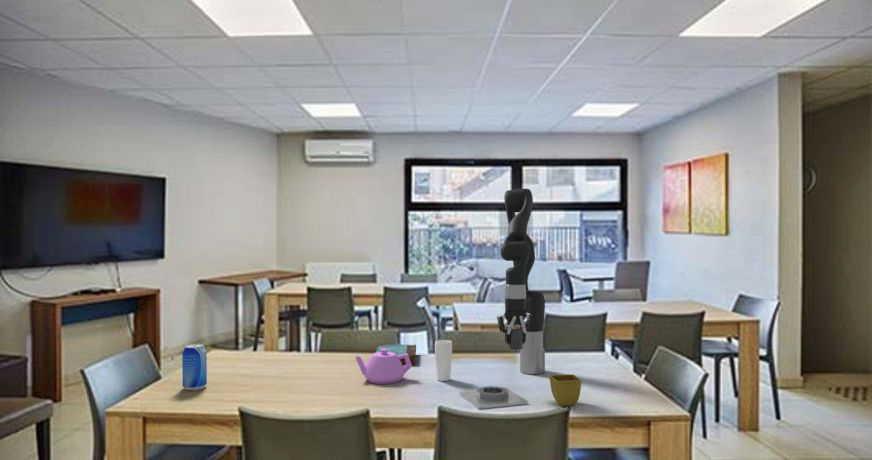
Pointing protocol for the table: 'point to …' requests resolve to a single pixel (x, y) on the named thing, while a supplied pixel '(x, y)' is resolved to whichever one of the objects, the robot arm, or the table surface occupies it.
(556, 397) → the flower pot
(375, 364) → the teapot
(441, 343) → the drinking glass
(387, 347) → the book
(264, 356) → the table surface
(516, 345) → the cap
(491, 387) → the square base plate
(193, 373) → the beer can
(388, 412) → the table surface
